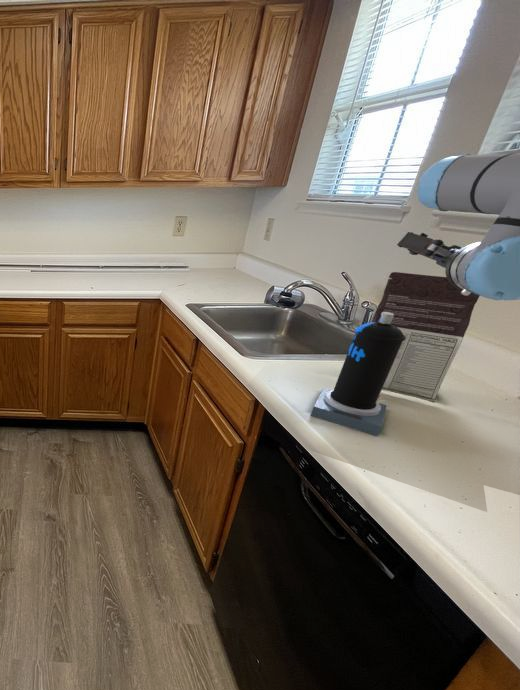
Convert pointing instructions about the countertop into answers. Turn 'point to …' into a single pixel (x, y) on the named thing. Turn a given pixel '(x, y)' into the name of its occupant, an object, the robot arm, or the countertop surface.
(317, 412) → the kitchen scale
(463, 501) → the countertop surface
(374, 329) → the aerosol can
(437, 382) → the protein powder
